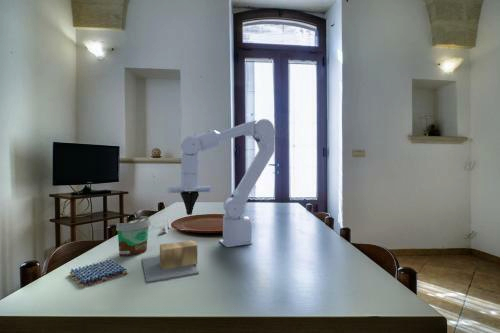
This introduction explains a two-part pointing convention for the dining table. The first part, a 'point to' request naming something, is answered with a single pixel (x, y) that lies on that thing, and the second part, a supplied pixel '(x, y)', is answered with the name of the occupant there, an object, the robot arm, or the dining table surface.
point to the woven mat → (97, 273)
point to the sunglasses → (165, 225)
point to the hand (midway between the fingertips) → (189, 214)
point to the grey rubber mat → (164, 270)
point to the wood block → (178, 254)
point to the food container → (133, 236)
